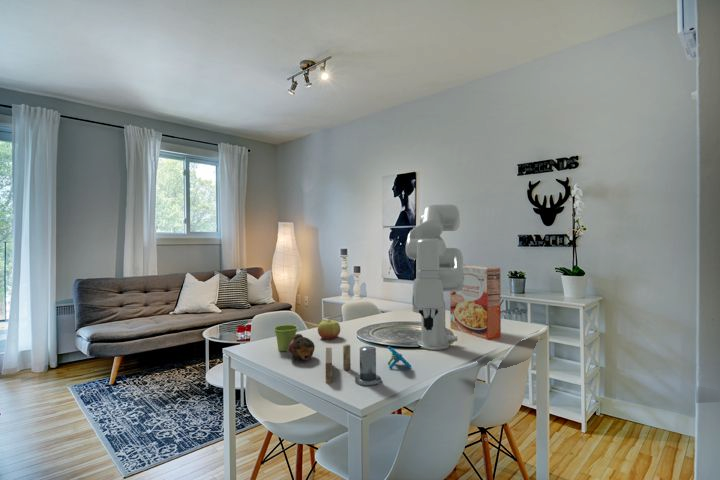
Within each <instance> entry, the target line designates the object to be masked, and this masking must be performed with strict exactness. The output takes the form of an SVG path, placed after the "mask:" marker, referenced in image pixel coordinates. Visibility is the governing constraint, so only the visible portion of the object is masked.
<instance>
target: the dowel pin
mask: <svg viewBox="0 0 720 480" xmlns="http://www.w3.org/2000/svg"><path fill="white" fill-rule="evenodd" d="M342 355H343V356H342V361H343V363H342V364H343V371H350V370H351V369H352V367H351V366H352V364H351V344H346V343H345V344H343V345H342Z"/></svg>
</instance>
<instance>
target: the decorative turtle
mask: <svg viewBox="0 0 720 480" xmlns="http://www.w3.org/2000/svg"><path fill="white" fill-rule="evenodd" d="M315 347H316V346H315V343H314V342H313V341H312V339H310V338H308V337H305V336H303V334H302V333H296V335H295V336H294V338H293V340H292V341H291V342H290V343H289V345H288V349H289V351H288V352H289V353H290V355H291V357H292V359H293V360H294V361H295V362H298V361H299V360H300V358H301V359H302V360H304V361H307V360H310V359H311V358H312V357H313V354H314V352H315Z"/></svg>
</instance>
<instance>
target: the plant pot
mask: <svg viewBox="0 0 720 480" xmlns="http://www.w3.org/2000/svg"><path fill="white" fill-rule="evenodd" d="M298 329H299V327H298V326H297V325H295V324H281V325H278V326H274V327H273V330H274V333H275V336H276V337H275V338H276V344H277V350H278V352H279V351H280V352H289V349H288V345H289V343H290V342H291V341H292V340H293V338H294V336H295V335H296V334H297V332H298V331H297V330H298Z"/></svg>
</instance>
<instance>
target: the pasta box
mask: <svg viewBox="0 0 720 480" xmlns="http://www.w3.org/2000/svg"><path fill="white" fill-rule="evenodd" d="M463 278H464V282H463V288H462V289H461V290H460V291H457V292H449V293H450V294H449V296H450V298H449V300H450V303H449V304H450V305H449V306H450V307H449V308H450V312H449V313H450V314H449V315H450V317H449V318H450V320H449V321H450V329H452V330H455V331H458V332H461V333H463V334H468V335H469V336H470V335H471V336H474V337H477V338H480V339H483V340H486V341H489V340H493V339H499V338H501V335H502V334H501V333H502V330H501V329H502V327H501V326H502V325H501V317H502V316H501V314H502V313H501V310H502V309H501V302H502V301H501V268H499V267H493V266H492V267H490V266H478V265H470V264H469V265H468V264H463Z"/></svg>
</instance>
